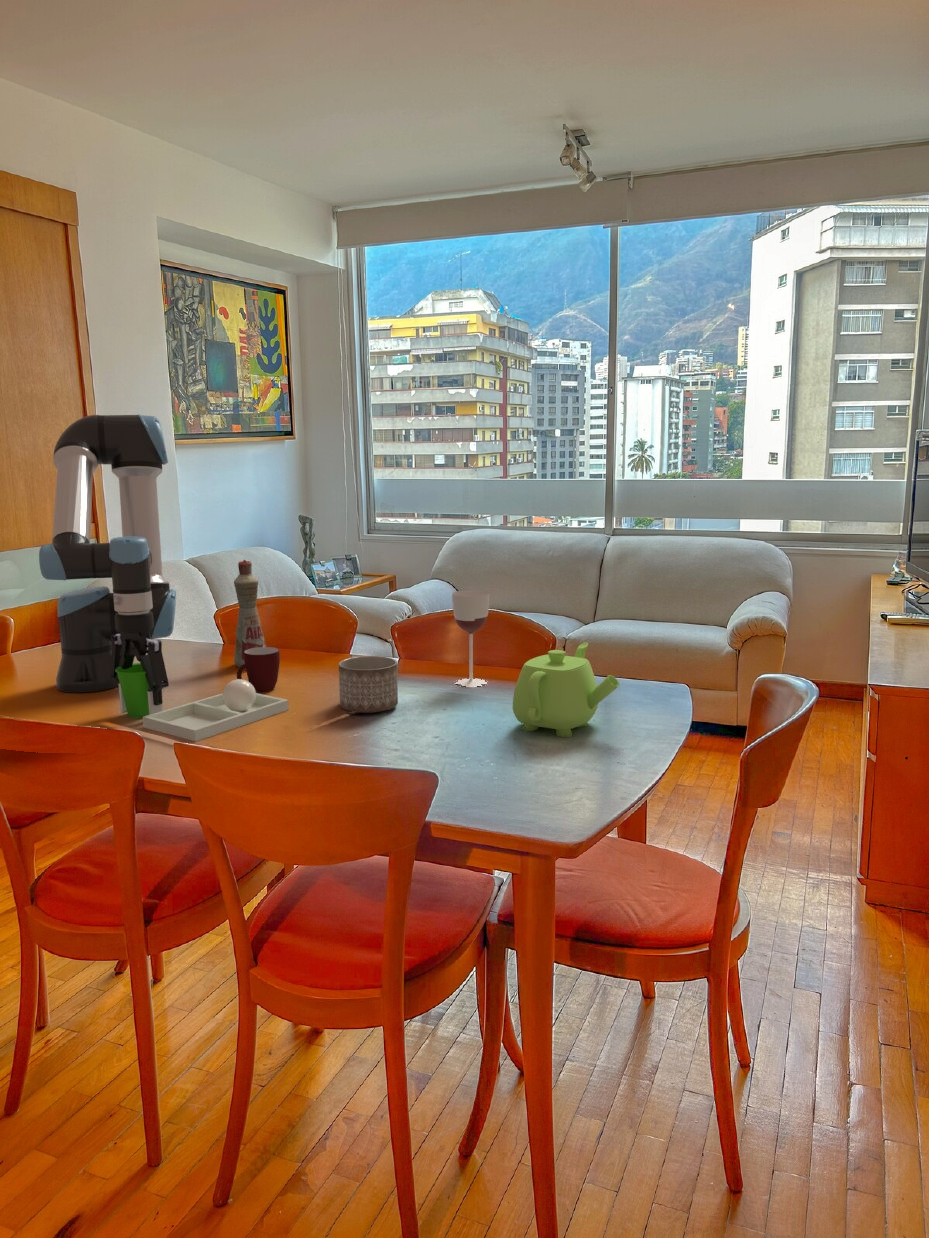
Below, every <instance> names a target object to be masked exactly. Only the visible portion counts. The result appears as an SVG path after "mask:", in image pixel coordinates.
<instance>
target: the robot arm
mask: <svg viewBox="0 0 929 1238" xmlns="http://www.w3.org/2000/svg"><path fill="white" fill-rule="evenodd" d="M164 439H165V438H164V433H163V429H162V423H161V421H160V419H159V418H158V417H156V416H153V415H142V414H123V415H122V414H109V415H108V414H105V415H103V414H101V415H100V414H93V415H87V416H84V417H81V418H79V419H77V420H76V421H74V422H72V423H71V424H70V425H69V426H68V427H67V428H66V429H64V431H63V432H62V433H61V434H60V436H59V437H58V440H57V441H56V444H55V445H54V450H53V457H52V459H53V461H52V462H53V465H54V468H55V469H56V470H57V472H56V479H55V481H56V482H55V497H54V511H53V522H52V524H53V527H52V537H51V538H52V539H51V541H52V542H51V543H49V544H43V545H41V547H40V548H39V551H38V552H39V553H38V562H39V570H40V573H41V576H42V578H44V579H46V580H48V581H50V580H51V581H67V580H69V581H70V580H84V579H85V580H86V579H88V580H89V579H110V578H111V581H112V592H111V591H110V588H109V587H108V586H104V585H103V586H93V587H86V588H79V589H76V590H72V591H69V592H65V593H64V594H62V595H60V597H59V598H58V599H57V615H56V617H58V627H59V630H58V631H59V639H60V648H61V658H60V662H59V666H58V671H57V675H56V677H55V684H56V685H55V686H56V689H57V690H59V691H60V692H65V693H76V694H77V693H91V692H99V691H106V690H109V689H113V688H117V691H118V697H119V707H120V714H125V713H127V709H126V706H125V702H124V698H123V694H122V690H121V686H120V682H119V678H118V674H117V672H115V670H116V668H117V667H120V666H121V667H122V669H128V668H131V667H132V665H133V663H134V661H135V658H136V660H137V661H138V663H141V666H142V668H143V671H144V672H146V673H145V676H146V679H147V682H148V684H149V687H150V689H148V704H149V715H150V714H154V713H157V712H161V711H163V705H162V704H163V702H164V701H163V691H162V690H163V689H164V688H168V687H169V686H170V684H169V679H168V674H167V671H166V665H165V660H164V656H163V648H162V647H163V646H162V641H161V640H160V639H161V638H169V637H170V636H171V635H173V632H174V628H175V627H174V625H175V619H176V618H175V615H176V603H177V602H176V600H177V591H176V590H175V589H173V588H172V589H171V588H170V582H169V581H168V580H167V578H165V577H164V576H163V565H162V563H163V562H162V550H161V549H162V548H161V531H160V518H159V516H160V515H159V500H158V485H157V480H158V479H157V478H158V477H159V476H161V474H162V473H163V466H164V465H165V466H166V465H167V464H168V463H169V460H168V455H167V449H166V445H165V440H164ZM99 465H110V466H111V472H112V474H113V475H115V476H116V478H118V484H119V501H120V502H119V503H120V504H119V505H120V518H121V533H122V536H118V537H113V538H111V539H110V541H109V542H100V543H97V542H95V543H94V542H93V543H91V531H92V529H91V528H92V500H93V483H94V482H93V480H94V479H93V477H94V473H95V472H96V471H97V470H98V466H99ZM155 639H158V640H155ZM154 683H155V684H154Z"/></svg>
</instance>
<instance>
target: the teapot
mask: <svg viewBox="0 0 929 1238" xmlns="http://www.w3.org/2000/svg"><path fill="white" fill-rule="evenodd" d="M588 647H589V643H588V642H582V643H581V644H579V645H578V647H577V649H576V651H575V653H574V656H570V655H566V653H567V652H566V651H564V650H561V649H553V650H552V649H551V650H549V651H547V654H544V655H539V656H536V657H534V658H531V659H529V660H527V661H526V662H525V663H524V664H523V666H522V668H521V671H520V673H519V676H518V679H517V681H516V684H515V688H514V692H513V696H512V711H513V714H514V716H515V719H516V720H517V721H518V722H519V723H522V724H524V725H523V726H522V728H521V729H522V730H524V731H529V732H530V731H531V732H532V731H533V732H534V731H536V730H537V731H538V729H539V727H541V728H544V729H552V730H553V729H554V730H556V732H555V733H556V736H557V737H560V738H569V737H570V738H571V737H572V736H573V732H572V729H574V728H577V727H580V728H582V727H583V728H585V727H588V726H589V723H588V722H589V721H590V720H591V719H593V716H594V715H595V713H596V711H597V710H598V708H599V703H601V702H602V701H603V700H604V699H605V698H607V697H608V696H609V695H610V694H611V693H612V692H614V691H615V690H617V689H618V688H619V687H620V682H619V680H618V679H617V678H616V677H615V676H613V675H610V674H609V675H608V676H606V677H605V678H604V679H603V680H602V681H601V682H599V684H598V685H597V681H596V677H595V674H594V672H593V668H592V665H591V662H590V661H589V660H588V659H587V658H586V652H587V649H588Z"/></svg>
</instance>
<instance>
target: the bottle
mask: <svg viewBox="0 0 929 1238" xmlns="http://www.w3.org/2000/svg"><path fill="white" fill-rule="evenodd" d="M237 566H238V573H239V574H238V575H237V577H236V578H235V579H234V582H233V585H234V588H235V593H236V597H237V603H238V607H239V608H238V614H237V615H238V616H237V625H236V630H235V634H236V637H235V647H234V656H233V657H234V659H233V661H234V662H233V663H234V665H235V666H236V667H238V668H237V669H239V667H240V666H241V665H243V664H245V663H244V651H245V650H247V649H251V648H258V647H267V645H266V641H265V636H264V632H263V628H262V624H261V620H260V616H259V612H258V607H257V604H258V603H257V602H258V601H257V599H258V591H259V589H258V588H259V579H258V578H257V577H255V576H254V573H253V569H252V568H253V567H252V566H253V565H252V561H250V560H246V559H243V561H241V560H240V561H238V563H237Z"/></svg>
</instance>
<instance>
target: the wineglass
mask: <svg viewBox="0 0 929 1238" xmlns="http://www.w3.org/2000/svg"><path fill="white" fill-rule="evenodd" d="M451 595H452V596H451V598H452V599H451V601H452V611H453V616H454V620H455V623H456V624H457V626H458V627H459V628H460V629H461V630H463V631H465V632H466V633H468V635H469V637H468V641H469V642H468V643H469V644H468V645H469V646H468V651H469V652H468V653H469V658H468V659H469V661H468V662H469V663H468V664H469V666H468V667H469V670H468V671H469V673H468V674H469V679H467V678H461V679H462V680H460V679H457V680H458V682H456V683H454V682H453V684H454V685H455V684H461V685H462V686H466V687H465V688H478V687H477V686H481V687H483V686H482V685H481V684H487V682H488V681H487V682H485V680H486V679H482V678H475V679H473V678H474V673H473V672H474V652H473V651H474V648H473V647H474V643H473V642H474V633H475V632H476V631H478V630H480V629H481V628H482V627H483V626H484V625H485V624H486V623H487V619H488V615H489V609H490V592H489V591H487V590H479V589H475V590H474V589H469V590H468V589H467V590H457V591H454V592H452V594H451ZM481 679H482V680H481ZM487 685H488V684H487Z"/></svg>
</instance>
